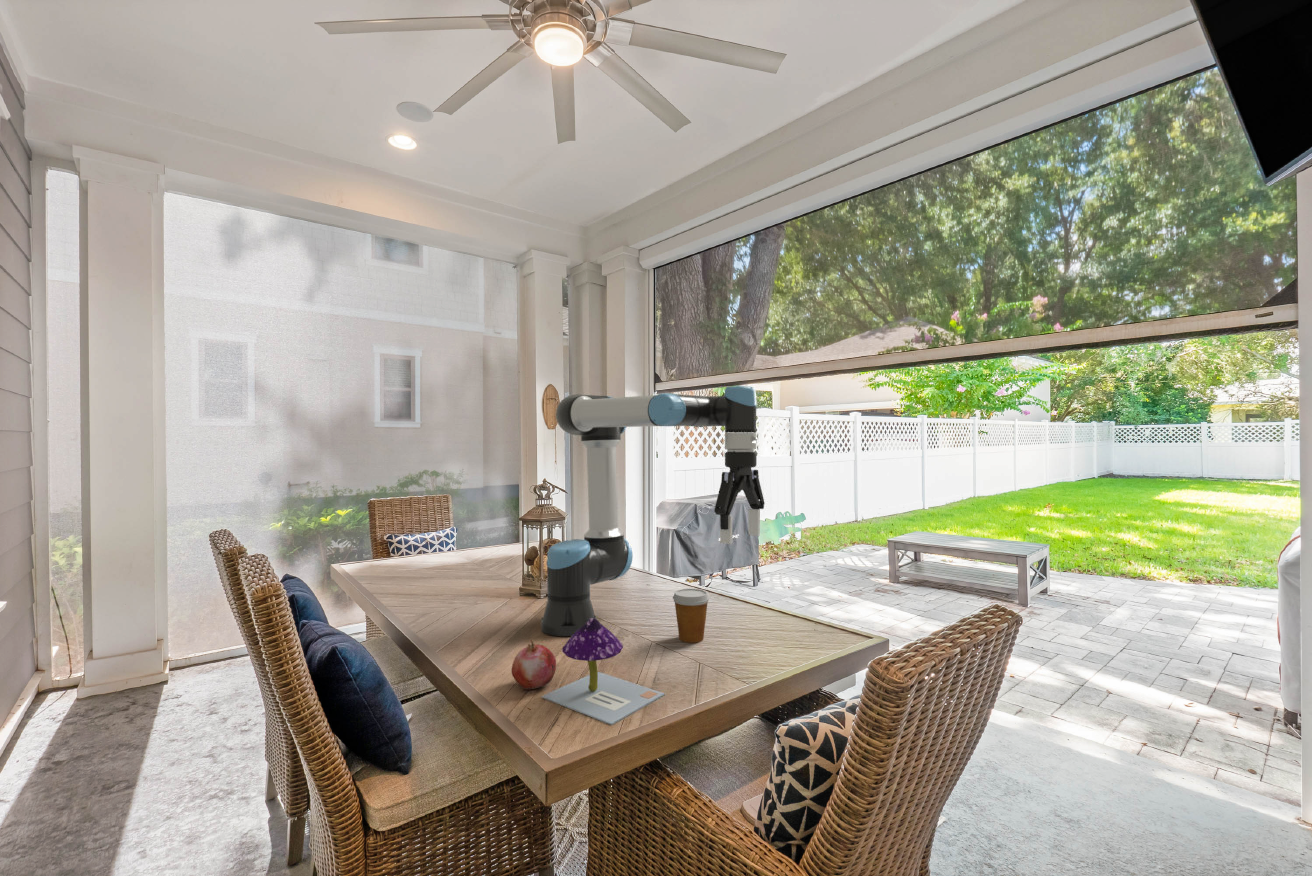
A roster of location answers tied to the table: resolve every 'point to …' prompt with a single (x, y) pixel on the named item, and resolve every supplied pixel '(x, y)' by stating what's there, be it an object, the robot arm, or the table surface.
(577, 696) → the letter
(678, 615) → the disposable coffee cup
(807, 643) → the table surface
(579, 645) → the decorative mushroom
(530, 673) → the fruit
